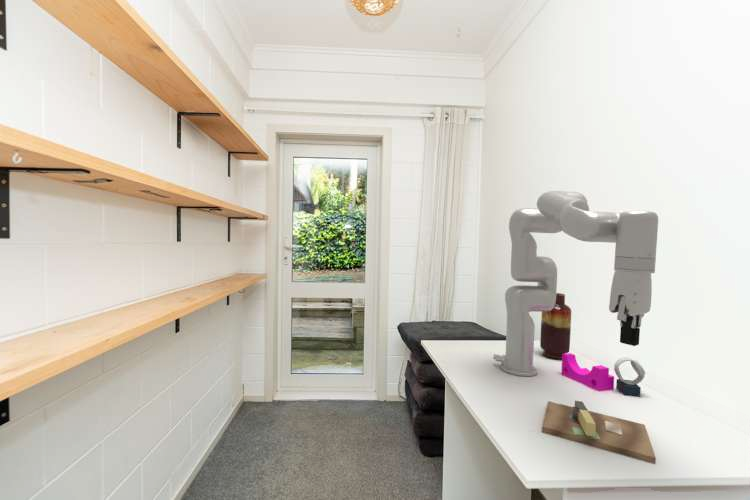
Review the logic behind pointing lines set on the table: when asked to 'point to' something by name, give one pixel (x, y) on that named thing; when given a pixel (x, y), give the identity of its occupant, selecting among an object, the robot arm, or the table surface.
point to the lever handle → (584, 418)
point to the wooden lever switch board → (600, 432)
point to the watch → (628, 385)
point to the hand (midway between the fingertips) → (629, 343)
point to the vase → (556, 329)
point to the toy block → (587, 374)
